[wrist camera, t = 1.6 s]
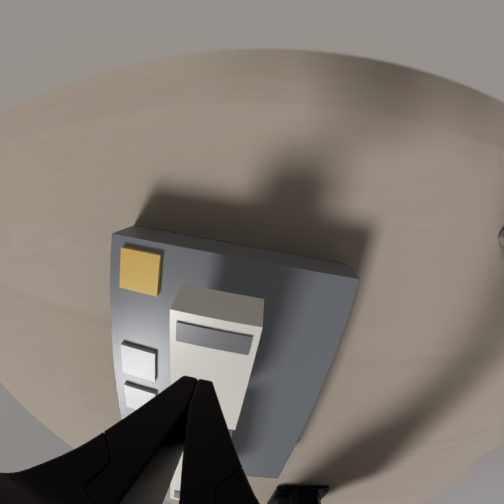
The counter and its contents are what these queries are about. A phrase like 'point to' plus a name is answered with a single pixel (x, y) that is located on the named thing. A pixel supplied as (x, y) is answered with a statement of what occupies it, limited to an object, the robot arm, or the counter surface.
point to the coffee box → (502, 240)
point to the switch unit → (271, 340)
